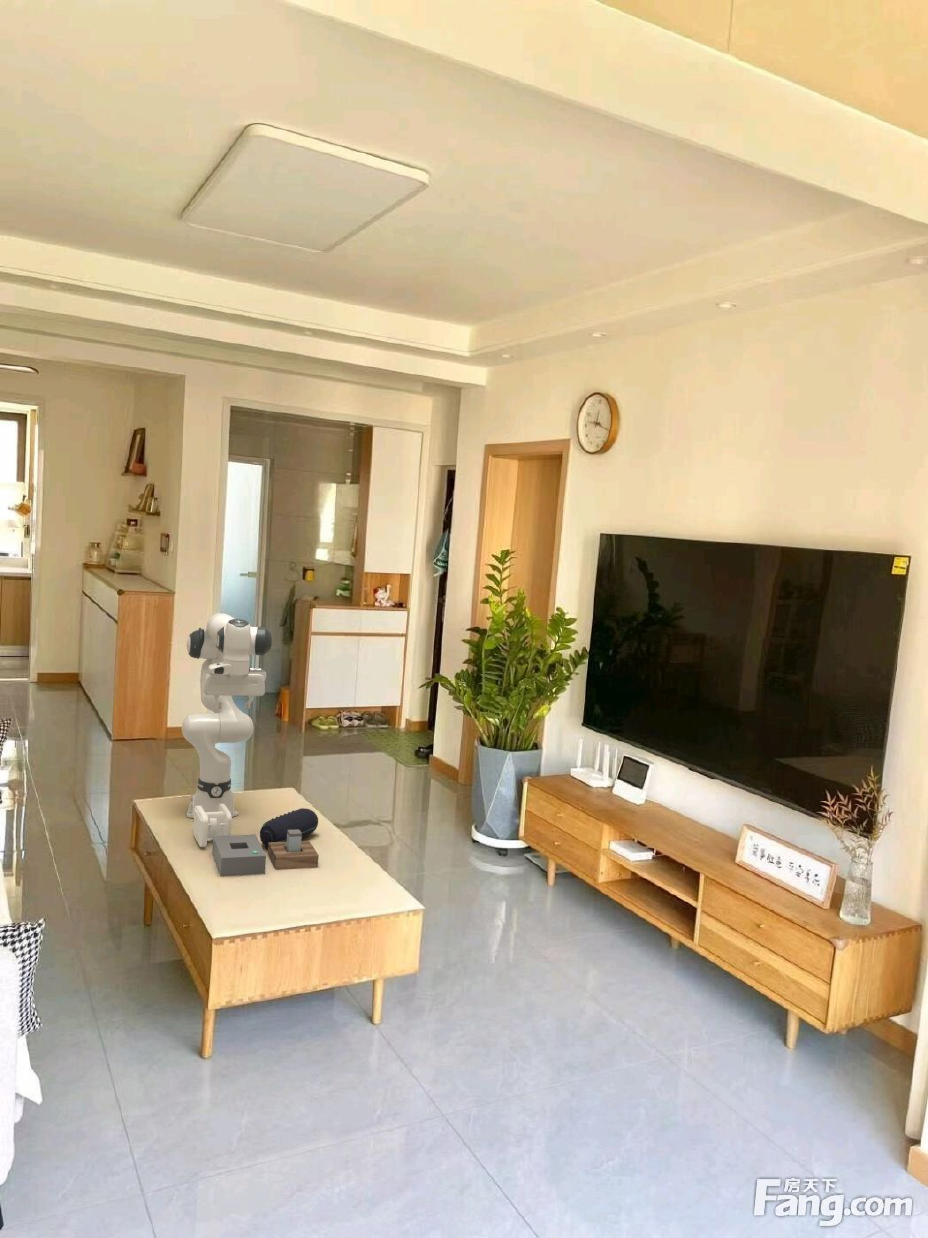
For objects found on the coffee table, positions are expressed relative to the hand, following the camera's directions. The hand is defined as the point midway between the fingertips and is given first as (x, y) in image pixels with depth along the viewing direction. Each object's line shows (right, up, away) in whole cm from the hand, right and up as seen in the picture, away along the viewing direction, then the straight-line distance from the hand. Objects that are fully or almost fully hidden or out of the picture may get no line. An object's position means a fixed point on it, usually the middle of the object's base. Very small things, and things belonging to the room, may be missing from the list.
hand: (233, 708), depth 325 cm
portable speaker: (+16, -49, +14) cm, 53 cm away
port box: (+4, -50, -10) cm, 51 cm away
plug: (+21, -51, -3) cm, 55 cm away
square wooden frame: (+21, -51, -3) cm, 55 cm away
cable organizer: (-9, -47, +7) cm, 49 cm away
